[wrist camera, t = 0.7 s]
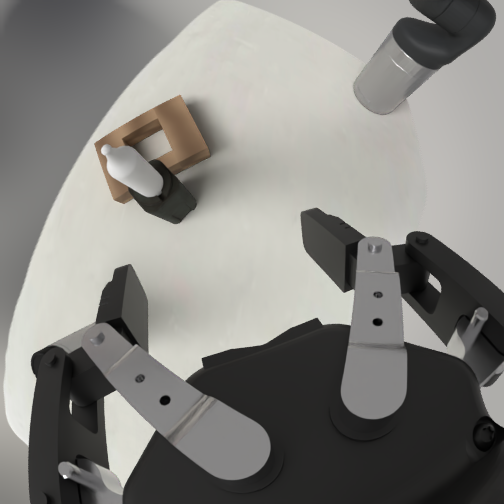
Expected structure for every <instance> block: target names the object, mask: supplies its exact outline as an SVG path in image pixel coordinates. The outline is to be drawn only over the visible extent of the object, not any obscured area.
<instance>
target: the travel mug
mask: <svg viewBox="0 0 504 504" xmlns="http://www.w3.org/2000/svg"><path fill="white" fill-rule="evenodd" d="M95 323H96V322H94V323H92V324H90V325H88V326H86V327H84V328H82V329H80V330H78V331H76V332H74V333H72V334H70V335H68V336H66V337H64V338H62V339H60V340H58V341H56V342H54V343H52V344H51V345H48V346H47V347H45V348H44V349H42V350H40V351H38V352H36V353H34V354H33V356H32V359H31V367H32V371H33V373H34V374H35V376H36V378H37V375H38V370H39V365H40V361H41V359H42V357H43V356H44V355H45V354H46V352H48V351H49V350H50V349H52V348H55V347H61V348H63V349H64V351H65V352H66V353H67V354H69V353H71V352H72V351H74V350H76V349H78V348H80V347H81V346H82V345H81V341H82V337H83V335H84V334H85V332H86V331H87V330H88V329H89V328H91V327H92V326H94V325H95Z"/></svg>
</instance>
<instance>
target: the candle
mask: <svg viewBox="0 0 504 504" xmlns="http://www.w3.org/2000/svg"><path fill="white" fill-rule="evenodd" d="M101 153H102V154H103V155H106V158H107V160H108V161H107V170H108V172H109V174H110V175H111V176H112V177H113V178H115V179H116V180H118V181H120V182H122V183H123V184H125V185H127V186H128V191H129V193H130V194H131V195H132V197H133V198H134V199H135V200H136V201H137V203H138V204H139V205H140V206H141V207H142V208H143V209H144V211H146V212H147V213H150V214H152V215H154V216H157V217H159V218H162V219H164V220H166V221H169V222H171V223H173V224H178V223H180V222H181V220H182V219H183V218H184V217H185V216H186V215H187V214H188V213H189V212H190V211H191V210H194V209H195V207H196V200H195V199H194V198H193V196H192V195H191V194H190V193H189V192H188V190H187V189H186V188H185V187H184V186H183V184H182V183H181V182H180V181H179V180H178V178H177V177H176V176H175V175H174V174H173V173H172V172H171V171H170V170H169V169H168V168H167V167H166V166H165V165H164V164H163V162H161V161H160V160H152V161H150V162H149V163H148V162H147V161H146V160H145V159H144V158H143V157H142V156H141V155H140V154H139V153H138V152H137V151H136V150H135V149H134V148H132V147H130V146H120V147H118V148H112V147H111V146H110V145H109V144H105V145H104V146H103V147H102V148H101Z"/></svg>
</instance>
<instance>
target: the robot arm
mask: <svg viewBox="0 0 504 504" xmlns="http://www.w3.org/2000/svg"><path fill="white" fill-rule="evenodd" d="M409 1H410V3H411V4H412V6H413V7H414V8H416V9H417V10H418V11H419V12H421V13H422V14H423V15H425V16H426V17H427V18H429V19H430V20H432V21H433V22H435V23H436V24H433V23H428V22H425V21H421V20H418V19H414V18H408V17H406V18H402V19H400V20H399V21H398V22H397V23H396V25H395V26H394V27H393V29H392V30H391V32H390V33H389V34H388V36H387V37H386V39H385V40H384V42H383V43H382V45H381V46H380V47H379V49H378V50H377V51H376V53H375V54H374V56H373V57H372V58H371V60H370V61H369V63H368V64H367V65H366V67H365V68H364V69H363V71H362V72H361V74H360V75H359V76H358V78H357V79H356V81H355V83H354V92H355V95H356V97H357V99H358V100H359V101H360V103H361V104H362V105H363V106H364V107H366V108H367V109H369V110H370V111H372V112H374V113H377V114H388V113H390V112H391V111H393V110H394V109H395V108H396V107H397V106H398V105H399V104H400V103H402V102H403V101H404V100H405V99H406V98H407V97H408V96H409V95H411V94H412V93H413V92H414V91H415V90H416V89H417V88H418V87H420V86H421V85H422V84H423V83H424V82H425V81H426V80H428V79H429V78H430V77H431V76H432V75H433V74H434V73H435V72H436V71H438V70H439V69H440V68H441V67H442V66H444V65H446V64H449V63H451V62H452V61H454V60H455V59H456V58H457V57H458V56H460V55H461V54H463V53H464V52H466V51H467V50H469V49H470V48H471V47H473V46H474V45H476V44H477V43H478V42H480V41H481V40H482V39H483V38H484V37H486V36H487V35H488V33H490V31H491V30H492V28H493V26H494V24H495V21H496V13H495V10H494V8H493V7H492V5H491V4H490V3H489V2H488V1H487V0H409ZM301 226H302V237H303V244H304V248H305V250H306V252H307V253H308V254H309V255H310V257H311V258H312V259H313V260H314V261H315V262H316V263H317V264H318V265H319V266H320V267H321V268H322V269H323V271H324V272H325V273H326V274H327V275H328V276H329V277H330V278H331V279H332V280H333V281H334V282H335V284H336V285H337V286H338V287H339V288H340V289H341V290H342V291H343V292H344V293H345V292H347V291H350V290H352V289H354V290H355V294H354V304H353V313H352V322H351V326H350V325H344V324H327V325H322V324H321V322H320V321H319V319H318V318H315V319H313V320H310V321H308V322H305V323H303V324H300V325H298V326H295V327H292V328H290V329H288V330H287V331H285V332H284V333H282V334H281V335H279V336H277V337H276V338H274V339H273V340H271V341H269V342H268V343H266V344H264V345H260V346H253V347H245V348H237V349H230V350H227V351H224V352H220V353H217V354H214V355H211V356H207V357H204V358H202V363H203V368H201V369H199V370H198V371H196V372H195V373H194V374H192V375H191V376H190V377H189V378H188V379H187V380H186V381H184V380H182V379H181V378H180V377H178V376H177V375H175V374H174V373H173V372H171V371H170V370H169V369H167V368H166V367H165V366H163V365H162V364H161V363H159V362H158V361H157V360H156V359H154V358H153V357H152V356H151V355H149V353H148V301H147V297H146V294H145V291H144V289H143V287H142V285H141V283H140V281H139V279H138V277H137V275H136V273H135V271H134V269H133V267H132V265H131V264H128V265H125V266H122V267H119V268H116V269H115V270H114V275H113V279H112V281H111V282H108V283H107V285H106V286H105V288H104V289H103V291H102V295H101V300H100V304H99V305H100V306H99V309H98V313H97V318H96V323H95V325H94V326H92V327H91V328H89V329H88V330H87V331H86V332H85V334H84V335H83V337H82V341H81V345H82V346H81V347H80V348H78V349H76V350H74V351H72V352H71V353H69V354H67V353H66V352H65V351H64V349H63V348H61V347H55V348H52V349H50V350H49V351H48V352H46V354H45V355H44V356H43V357H42V359H41V361H40V365H39V370H38V375H37V380H36V386H35V392H34V398H33V405H32V413H31V423H30V435H29V457H28V458H29V459H28V465H29V466H28V469H29V471H28V472H29V494H30V503H31V504H504V428H503V427H501V426H500V425H498V424H497V423H495V422H494V421H493V420H492V419H491V417H490V416H489V414H488V412H487V410H486V407H485V405H484V402H483V399H482V395H481V391H480V388H481V387H482V386H483V387H488V386H490V385H492V384H493V383H494V382H495V381H496V380H497V379H498V377H499V376H500V375H501V374H502V372H503V371H504V293H503V292H502V291H501V290H500V289H499V288H498V287H497V286H495V285H494V284H493V283H492V282H491V281H490V280H489V279H487V278H486V277H485V276H484V275H482V274H481V273H480V272H479V271H478V270H476V269H475V268H474V267H473V266H472V265H470V264H469V263H468V262H467V261H465V260H464V259H463V258H462V257H460V256H459V255H458V254H456V253H455V252H453V251H452V250H451V249H450V248H448V247H447V246H446V245H444V244H443V243H442V242H440V241H439V240H437V239H436V238H434V237H433V236H432V235H430V234H428V233H425V232H420V231H415V232H411V233H409V234H408V235H407V237H406V244H401V245H394V246H391V244H390V242H388V241H387V240H385V239H383V238H380V237H365V236H364V235H362V234H361V233H359V232H358V231H357V230H355V229H354V228H353V227H351V226H350V225H348V224H347V223H345V222H344V221H343V220H341V219H340V218H339V217H335V216H332V215H327V214H325V213H324V212H322V211H321V210H320V209H318V208H313V209H310V210H306V211H303V212H301ZM430 273H431V274H432V275H433V276H434V277H435V278H436V279H437V280H438V281H439V282H440V284H441V293H440V292H439V291H438V290H437V289H435V288H434V287H433V286H432V285H431V284H430V283H429V282H428V279H429V275H430ZM401 296H402V298H403V299H404V300H405V301H406V302H407V303H408V304H409V305H410V306H411V307H412V308H413V309H414V310H415V311H416V313H417V314H418V315H419V316H420V317H421V318H422V319H423V320H424V321H425V322H426V324H427V325H428V326H429V327H430V328H431V329H432V330H433V331H434V332H435V333H436V335H437V336H438V337H439V338H440V339H441V341H442V342H443V343H444V344H445V345H446V347H447V352H448V354H446V353H443V352H439V351H435V350H432V349H428V348H424V347H421V346H417V345H414V344H410V343H407V342H404V332H403V315H402V314H403V313H402V299H401ZM116 390H117V391H118V392H119V393H120V394H121V395H122V396H123V397H124V398H125V399H126V400H127V402H128V403H129V404H130V405H131V406H132V407H133V408H134V409H135V410H136V411H137V412H138V413H139V414H140V415H141V416H142V417H143V418H144V419H145V420H146V421H147V422H149V423H150V424H151V425H152V426H153V427H154V428H155V429H156V431H155V432H154V434H153V436H152V438H151V439H150V441H149V443H148V445H147V447H146V448H145V450H144V452H143V454H142V455H141V457H140V459H139V461H138V462H137V464H136V466H135V468H134V470H133V471H132V473H131V475H130V477H129V478H128V480H127V482H126V484H125V486H124V489H123V487H122V486H121V483H120V480H119V478H118V477H117V476H116V475H115V474H114V473H113V472H112V471H110V469H109V462H108V453H107V444H106V432H105V416H104V396H106V395H108V394H110V393H112V392H114V391H116ZM70 400H71V401H72V415H71V413H70V409H69V404H70Z"/></svg>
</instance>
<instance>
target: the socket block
mask: <svg viewBox="0 0 504 504" xmlns="http://www.w3.org/2000/svg"><path fill="white" fill-rule="evenodd" d="M162 129H163V130H164V133H165V135H166V137H167V139H168V141H169V143H170V145H171V148H172V151H170V152H168V153H166V154H165V155H163V156H161V157H159V158H157V159H155V160H160V161H161V162H163V164H164V165H165V166H166V167H167V168H168V169H169V170H170V171H171V172H172V173H173V174H174V175H175V174H177V173H179V172H181V171H183V170H185V169H187V168H189V167H191V166H193V165H195V164H197V163H199V162H201V161H203V160H205V159H207V158H209V157H211V156H210V153H209V149H208V147H207V145H206V143H205V141H204V139H203V137H202V135H201V133H200V131H199V129H198V127H197V126H196V124H195V122H194V120H193V118H192V116H191V114H190V112H189V110H188V108H187V106H186V105H185V103H184V101H183V99H182V97H181V95H179V96H177V97H174V98H172V99H170V100H168V101H166V102H164V103H162V104H160V105H158V106H156V107H155V108H153V109H151V110H149V111H147V112H145V113H143V114H142V115H140V116H138V117H136V118H134V119H133V120H131V121H129V122H128V123H126V124H124V125H122V126H121V127H119V128H118V129H116V130H114V131H113V132H111V133H110V134H108V135H106V136H105V137H103V138H102V139H100V140H99V141H97V142H96V143H94V145H95V148H96V151H97V154H98V157H99V160H100V163H101V166H102V169H103V172H104V175H105V178H106V180H107V183H108V186H109V189H110V191H111V194H112V197H113V199H114V200H115V201H118V202H120V203H123V204H125V203H126V202H128V201H130V200H131V199H133V197H132V195H131V194H130V193H129V191H128V186H127V185H125V184H123V183H122V182H120V181H118V180H116V179H115V178H113V177H112V176H111V175H110V174H109V172H108V170H107V161H108V160H107V158H106V155H103V154H102V153H101V148H102V147H103V146H104V145H105V144H109V145H110V146H111V147H112V148H118V147H120V146H130V147H131V146H133V145H135V144H136V143H138V142H140V141H142V140H143V139H145V138H147V137H149V136H151V135H152V134H154V133H156V132H158V131H160V130H162Z"/></svg>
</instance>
